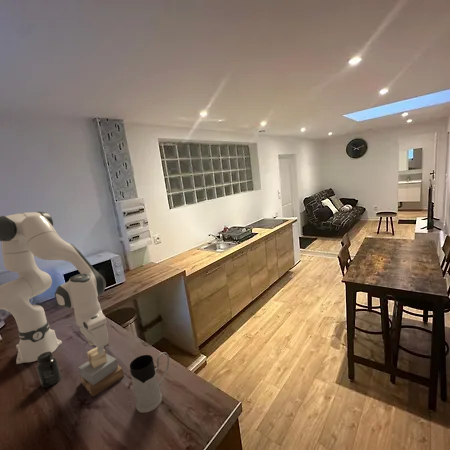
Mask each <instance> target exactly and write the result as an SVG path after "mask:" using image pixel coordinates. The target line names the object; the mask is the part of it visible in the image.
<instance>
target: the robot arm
mask: <svg viewBox="0 0 450 450" xmlns="http://www.w3.org/2000/svg"><path fill="white" fill-rule="evenodd" d="M0 242H1V253H2V258H3V267H4V268H5V270H7V271H8V272H12V273H17V275H18V278H15V279H13V280H11V281H8V282H5V283H3V284H1V285H0V310H2V311H3V310H4V311H6V312H8V313H10V314H11V315H12V316H13V317H14V319H15V320H14V321H15V322H16V325H17V329H18V338H19V343H17V344H16V345H15V347H16V350H17V356H16V365H19V364H23V363H24V364H25V363H32V362H36V361H38V359H37V358H38V356H39V355H41V354H43V353H45V352H51V353H54V352H55V351H56V350H57V349H58V348H59V346H61V345H62V344H63V342H62V340H60V339H58V338H57V335H56V332H55V329H51V327H50V323H49V321H48V320H47V316H46V312H45V309H44V307H43V306H41V305H39V304H32V303H31V302H30V299H32V298H34V297H36V296H39V295H41V294H43V293H45V292H46V291H47V290H49V289H50V288H51V286H52V283H53V279H52V277H51V275H50V274H49V273H48V272H46V271H43V270H41V269H40V268H39V267H38V265H37V263H36V260H35V257H36V258H38V259H41V260H44V261H45V260H46V261H64V262H68V263H70V264H72V265H73V266H74V267H75V269H77V271H78V272H79V273H78V274H76V275H73V276H71V277H70V278H69V280H68V281H66V282H64V283H62V284H60V285H58V287H57V288H56V289H55V292H54V298H55V301H56V304H57V306H59V307H61V308H65V309H73V310H74V312H73V313H74V318H75V321H76V323H75V324H76V325H77V326H78V327H79V331H80V333H81V334H82V335H83V336H85V338H86V340H87V342H88V345H89V346H90V347H92V346H94V345H95V347H97V348H98V349H97V351H98V354H100V355H101V354H102V353H104V347H105V346H106V345H108V343H109V334H108V328H107V325H106V324H107V318H106V316H105V314H104V313H103V310H102V307H101V304H100V302H99V299H98V297H99V296H102V295H103V293H104V291H105V289H106V288H107V287H106V286H107V282H106V279H105V278H104V276H103V275H102V274H101V273H100V272H99V271H97V270H96V268H94V267H93V265H92V264H91V263H90V262H89V260H88V259H87V258H86V257H85V256H84V255H83V253H82V252H81V251H80V250H79V249H78V247H76V246H75V244H72V243H70V242H67V241H65V240H64V239H63V238H62V237H61V236H60V235H59V234H58V231H56V229H55V227H54V219H53V218H52V216H51V215H50V214H49V213H48V212H45V211H36V212H34V211H33V212H32V211H31V212H30V211H29V212H20V213H14V214H8V215H0Z"/></svg>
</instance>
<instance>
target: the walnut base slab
mask: <svg viewBox="0 0 450 450" xmlns="http://www.w3.org/2000/svg"><path fill="white" fill-rule="evenodd" d="M124 377H125V375H124V370H123V368H122V367H121V366H120V365H119V364H118V369H116V370H115V371H113V372H112V373H111V374H109V375H108V376H106V377H105V378H104V379H102V380H101V381H99V382H98V383H96V384H95V385H92V384H91V383H89V382H88V381H87V380H85V379H84V378H82V377H81V375H80V374H79V379H80V383H81V384H82V385H83V387H84V386H85V387H84V388H85V389H86V390H87V392H88V391H89V392H88V393H89V395H91V397H92V396H93V397H95V396H96V395H98V394H99V392H100V393H101V392H103V391H104V390H106V389H107V388H109V387H110V386H112V385H113V384H115V383H117V381H120V380H121V379H122V378H124ZM94 395H95V396H94Z"/></svg>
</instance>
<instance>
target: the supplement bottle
mask: <svg viewBox="0 0 450 450" xmlns="http://www.w3.org/2000/svg"><path fill="white" fill-rule="evenodd" d="M52 353H53V352H52ZM52 353H51V352H45V353H43V354H41V355H39V356H38V358H37V359H38V360H37V365H36V372H37V375H38V378H39V382H40V385H41V387H42V388H50V387H52V386H53V385H55V384H57V383H58V382H60V380H61V378H62V375H61V371H60V367H59V363H58V360H57V358H56V357H54V356H53V354H52Z"/></svg>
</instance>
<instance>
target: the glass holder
mask: <svg viewBox="0 0 450 450" xmlns="http://www.w3.org/2000/svg"><path fill="white" fill-rule="evenodd" d="M164 354H165V355H166V357H167V365H166V369H165V371H164V373H163V375H162V377H161V379H160V381H158V376H157V370H158V369H159V368H160V364H159V363H160V358H161V356H162V355H164ZM157 356H158V357H157V359H156V365H157V366H156V367H155V363H154V358H153V356H152V355H150V354H144V355H143V354H142V355H139V356H137V357H135V358H133V360H132V361H131V362H130V363H129V369H130V370H129V371H130V376H131V382H132V383H131V384H132V387H133V390H134V391H133V393H134V396H135V401H136V404H135V408H136V410H137V412H139V413H149V412H151V411H154V410H155V409H157V407H158V406H160V404H161V403H162V400H163V395H162V393H161V390H160V387H161V385H162V383H163V380H164V379H165V377H166V375H167V374H168V372H169V371H168V370H169V368H170V367H169V366H170V356H169V354H168V353H167V352H165V351H164V352H161V353H159V355H157Z"/></svg>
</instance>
